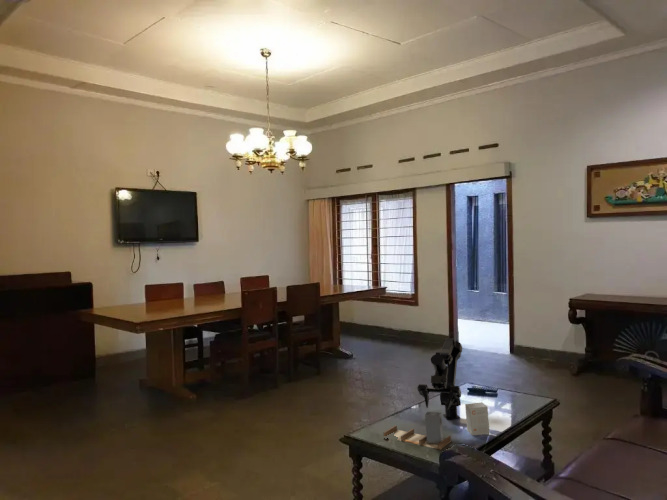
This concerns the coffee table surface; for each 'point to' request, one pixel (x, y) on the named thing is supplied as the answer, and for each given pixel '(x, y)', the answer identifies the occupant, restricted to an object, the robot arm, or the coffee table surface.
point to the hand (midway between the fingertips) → (437, 408)
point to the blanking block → (433, 428)
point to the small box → (477, 418)
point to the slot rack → (415, 438)
